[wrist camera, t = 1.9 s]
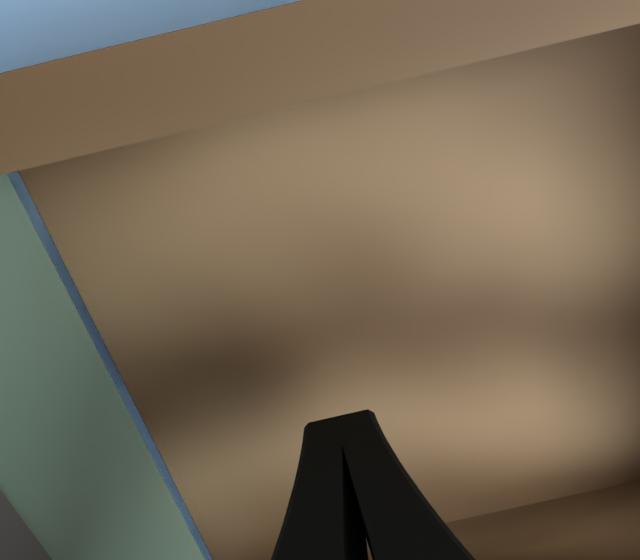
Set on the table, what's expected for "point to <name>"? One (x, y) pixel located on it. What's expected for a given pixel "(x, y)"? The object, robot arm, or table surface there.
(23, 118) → the cart bed
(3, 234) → the green board
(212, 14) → the table surface
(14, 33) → the table surface
